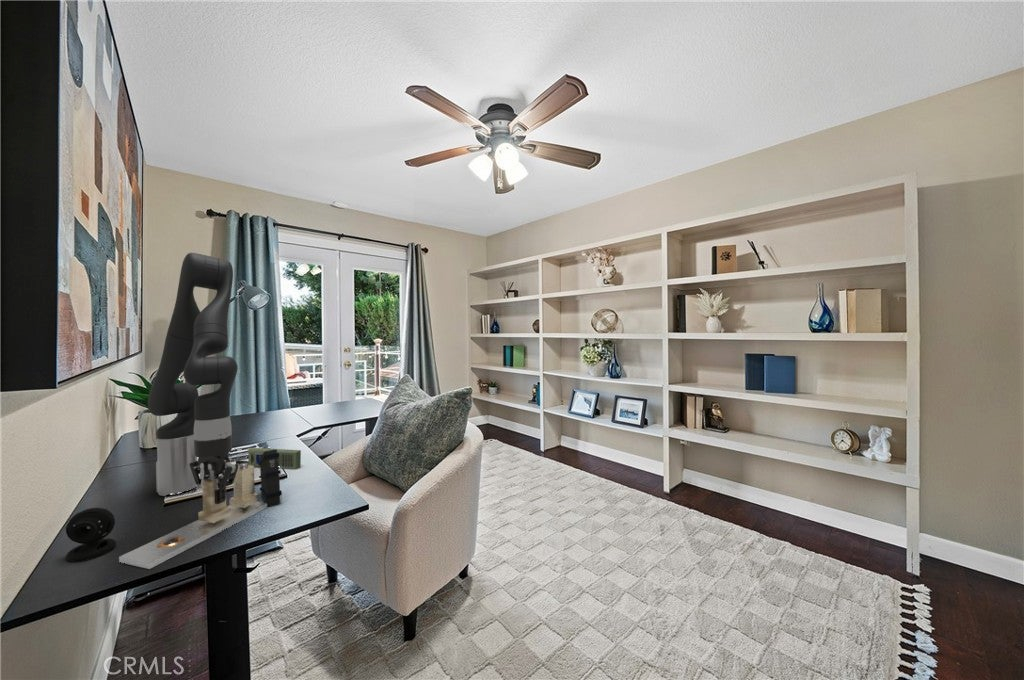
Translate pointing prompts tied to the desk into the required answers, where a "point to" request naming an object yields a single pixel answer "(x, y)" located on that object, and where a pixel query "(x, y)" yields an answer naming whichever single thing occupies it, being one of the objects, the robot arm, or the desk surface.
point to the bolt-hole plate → (200, 525)
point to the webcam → (90, 533)
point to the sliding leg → (212, 504)
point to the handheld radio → (285, 458)
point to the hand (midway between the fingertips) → (214, 501)
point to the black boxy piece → (270, 477)
